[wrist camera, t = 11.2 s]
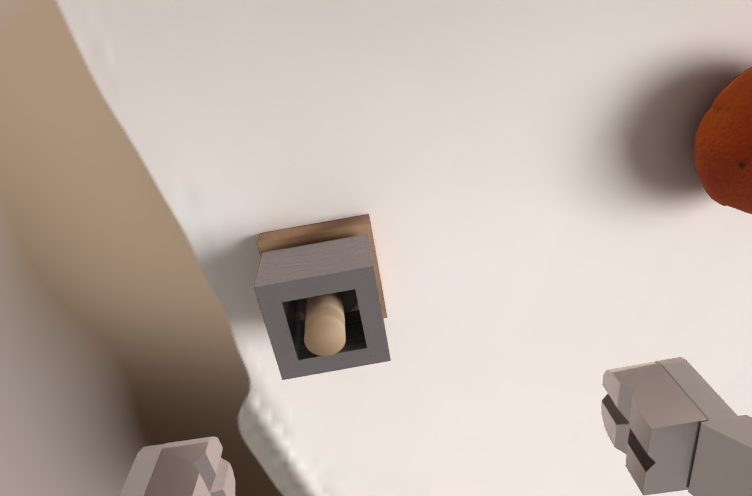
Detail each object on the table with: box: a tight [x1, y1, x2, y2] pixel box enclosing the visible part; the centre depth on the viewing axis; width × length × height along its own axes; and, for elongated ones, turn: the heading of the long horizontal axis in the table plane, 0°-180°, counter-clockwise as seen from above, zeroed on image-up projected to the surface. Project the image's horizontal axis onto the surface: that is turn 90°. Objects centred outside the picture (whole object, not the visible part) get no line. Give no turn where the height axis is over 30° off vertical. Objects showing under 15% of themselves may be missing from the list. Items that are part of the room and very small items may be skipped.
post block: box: [257, 214, 387, 356], centre depth 30 cm, size 7×7×8 cm
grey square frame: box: [254, 234, 391, 380], centre depth 30 cm, size 6×6×4 cm
